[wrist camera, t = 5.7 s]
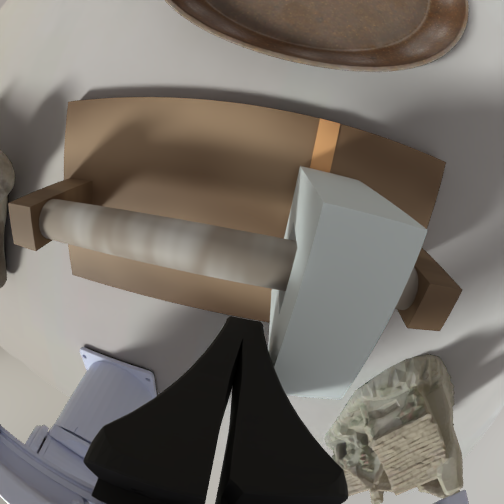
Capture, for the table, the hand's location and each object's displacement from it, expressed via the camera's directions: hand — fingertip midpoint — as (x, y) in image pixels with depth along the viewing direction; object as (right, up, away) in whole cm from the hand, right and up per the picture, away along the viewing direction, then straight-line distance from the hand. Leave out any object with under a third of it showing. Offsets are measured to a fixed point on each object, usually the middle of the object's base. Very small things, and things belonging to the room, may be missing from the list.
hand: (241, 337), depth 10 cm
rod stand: (-1, +5, +5) cm, 7 cm away
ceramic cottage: (+14, -13, +12) cm, 23 cm away
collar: (+4, +4, +3) cm, 6 cm away
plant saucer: (+4, +20, -2) cm, 21 cm away
